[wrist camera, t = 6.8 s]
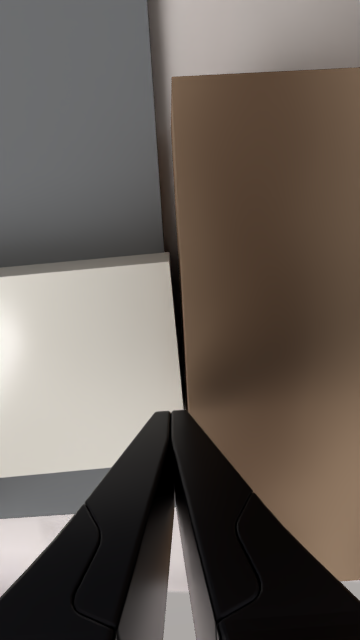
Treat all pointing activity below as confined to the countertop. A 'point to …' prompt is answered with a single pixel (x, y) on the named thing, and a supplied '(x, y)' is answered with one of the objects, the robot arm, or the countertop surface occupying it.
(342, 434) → the brown flat block
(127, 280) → the tile
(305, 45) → the countertop surface
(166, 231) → the countertop surface
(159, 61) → the countertop surface
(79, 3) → the mat
